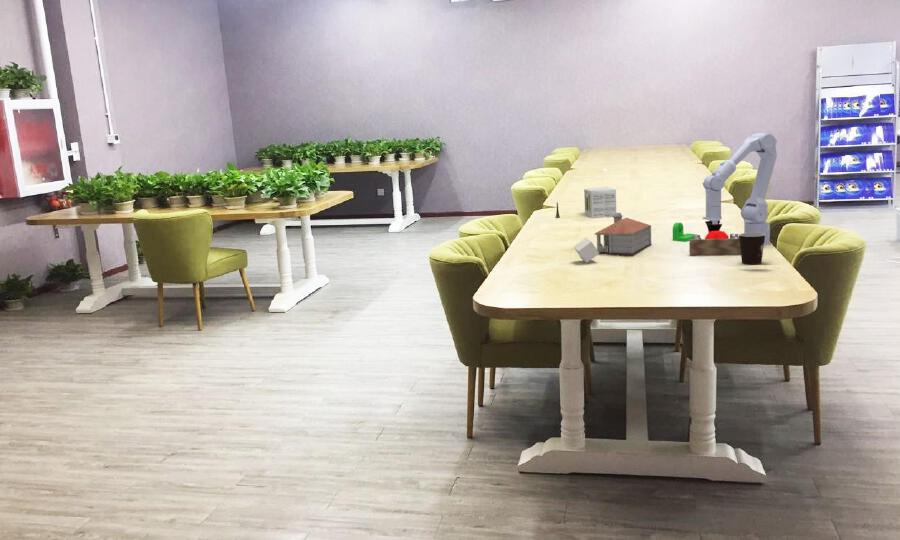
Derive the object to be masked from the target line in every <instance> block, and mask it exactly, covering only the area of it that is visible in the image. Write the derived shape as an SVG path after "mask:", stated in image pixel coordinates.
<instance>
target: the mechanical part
mask: <svg viewBox="0 0 900 540" xmlns="http://www.w3.org/2000/svg"><path fill="white" fill-rule="evenodd" d="M692 235H698V234H697V233H684V225H683V222H674V224H673V226H672V241H673V242H680V243H681V242H682V243H687V242H690V239H692Z"/></svg>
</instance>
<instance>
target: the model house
mask: <svg viewBox="0 0 900 540" xmlns="http://www.w3.org/2000/svg"><path fill="white" fill-rule="evenodd" d="M612 218H613V223H612V224H609V225H608V226H606V227H604V228H602V229H600V230H599V231H597V232H595V233H594V235H596V249H597V251H598V252H599V254H598V255H602V254H607V255H606V256H617V255H619V257H620V256H621V257H632V258H633V257H634V256H636V255H638V254H639V253H641V252H643V251H644V250H646V249H647V248H649V247H651V246H652V225H651V224H648V223H645V222H642V221H639V220H635V219H633V218H629V217H624V218H623V214H622V213H621V212H616V213H615V214H614V216H613V217H612ZM601 236H603V244H602V243H601V242H602V241H601Z"/></svg>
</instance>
